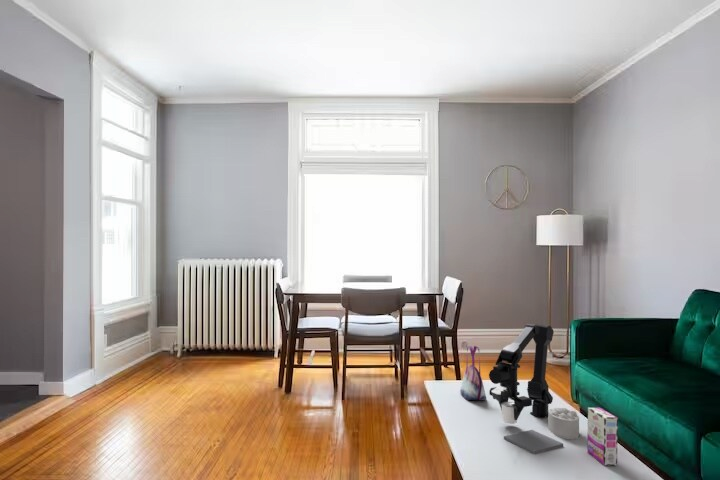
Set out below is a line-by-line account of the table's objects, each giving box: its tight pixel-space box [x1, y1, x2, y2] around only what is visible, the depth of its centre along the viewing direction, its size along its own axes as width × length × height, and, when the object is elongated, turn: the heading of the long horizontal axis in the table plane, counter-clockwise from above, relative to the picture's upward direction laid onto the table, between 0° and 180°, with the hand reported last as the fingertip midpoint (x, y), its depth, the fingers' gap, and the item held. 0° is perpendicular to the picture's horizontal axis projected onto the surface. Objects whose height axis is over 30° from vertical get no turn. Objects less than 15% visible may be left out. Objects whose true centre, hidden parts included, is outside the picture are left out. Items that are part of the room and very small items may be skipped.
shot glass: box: [501, 401, 518, 424], centre depth 200 cm, size 7×7×7 cm
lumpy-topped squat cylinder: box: [547, 407, 580, 440], centre depth 193 cm, size 10×13×9 cm
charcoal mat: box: [503, 429, 564, 455], centre depth 183 cm, size 15×15×1 cm
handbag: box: [459, 345, 487, 401], centre depth 238 cm, size 21×10×25 cm, turn 6°
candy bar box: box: [586, 406, 619, 467], centre depth 170 cm, size 11×5×16 cm, turn 4°
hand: (509, 417), depth 200 cm, fingers closed on shot glass, 6 cm apart
